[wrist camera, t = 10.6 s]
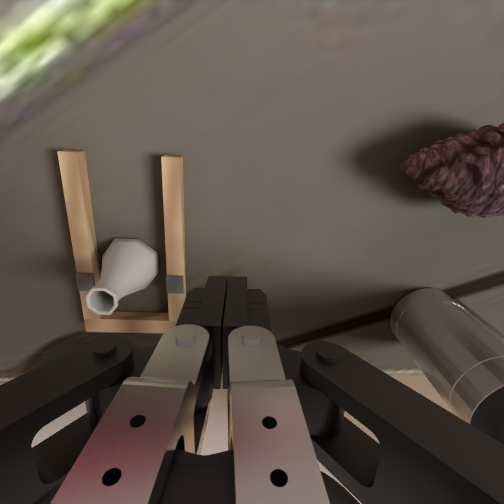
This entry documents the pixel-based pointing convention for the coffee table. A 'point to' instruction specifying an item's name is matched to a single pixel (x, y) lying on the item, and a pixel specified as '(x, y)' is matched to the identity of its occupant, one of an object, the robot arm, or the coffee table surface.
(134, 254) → the flask
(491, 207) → the pine cone
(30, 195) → the coffee table surface
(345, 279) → the coffee table surface
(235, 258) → the coffee table surface
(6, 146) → the coffee table surface
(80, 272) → the beam channel
